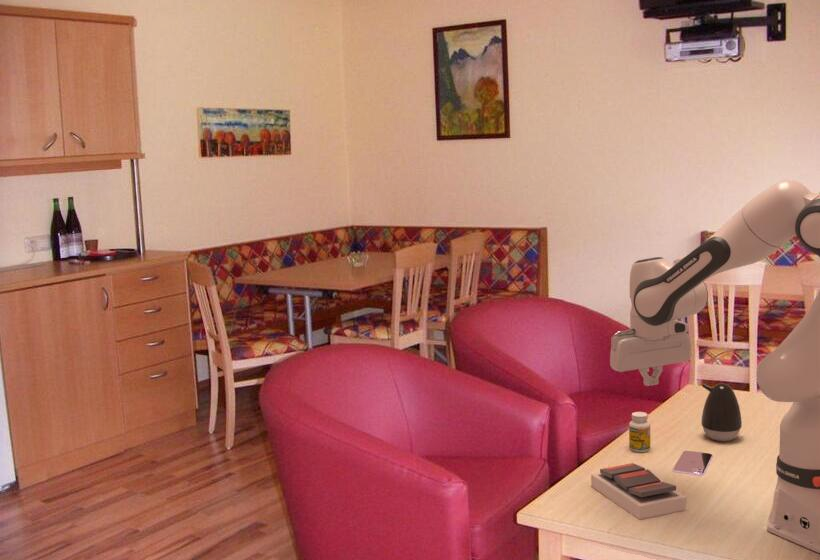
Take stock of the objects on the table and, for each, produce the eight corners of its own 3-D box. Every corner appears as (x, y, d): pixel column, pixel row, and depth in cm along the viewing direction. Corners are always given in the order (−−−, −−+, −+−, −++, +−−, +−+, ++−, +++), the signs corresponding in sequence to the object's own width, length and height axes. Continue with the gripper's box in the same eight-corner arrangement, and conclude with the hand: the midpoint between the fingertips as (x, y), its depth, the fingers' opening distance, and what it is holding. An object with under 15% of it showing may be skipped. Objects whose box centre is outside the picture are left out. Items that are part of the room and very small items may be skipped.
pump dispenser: (708, 429, 251) (710, 376, 249) (746, 436, 245) (748, 381, 242) (694, 439, 243) (695, 385, 241) (733, 447, 237) (734, 391, 234)
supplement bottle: (652, 447, 239) (652, 412, 237) (647, 454, 234) (647, 418, 233) (632, 444, 242) (632, 409, 240) (626, 451, 237) (626, 415, 235)
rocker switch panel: (686, 509, 201) (686, 496, 200) (639, 519, 197) (639, 505, 196) (634, 478, 219) (634, 465, 219) (591, 486, 215) (591, 473, 215)
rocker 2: (660, 484, 207) (660, 480, 206) (626, 490, 204) (626, 486, 203) (647, 473, 211) (648, 469, 211) (614, 479, 208) (614, 475, 208)
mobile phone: (713, 453, 232) (703, 473, 219) (713, 456, 232) (703, 477, 219) (683, 449, 235) (671, 469, 222) (683, 452, 235) (671, 473, 222)
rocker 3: (676, 490, 201) (676, 485, 201) (641, 497, 198) (641, 492, 198) (663, 486, 206) (662, 481, 206) (628, 492, 203) (628, 487, 203)
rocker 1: (645, 472, 212) (644, 467, 212) (611, 478, 209) (611, 473, 209) (633, 467, 217) (632, 462, 217) (600, 473, 214) (599, 468, 214)
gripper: (619, 334, 204) (620, 394, 206) (694, 323, 211) (695, 381, 213) (603, 329, 210) (605, 388, 212) (677, 319, 217) (678, 376, 219)
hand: (651, 384), depth 213 cm, fingers closed
